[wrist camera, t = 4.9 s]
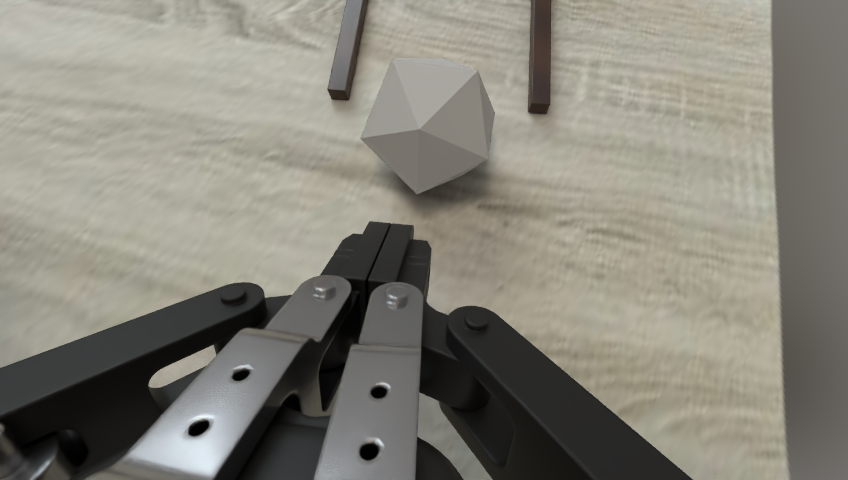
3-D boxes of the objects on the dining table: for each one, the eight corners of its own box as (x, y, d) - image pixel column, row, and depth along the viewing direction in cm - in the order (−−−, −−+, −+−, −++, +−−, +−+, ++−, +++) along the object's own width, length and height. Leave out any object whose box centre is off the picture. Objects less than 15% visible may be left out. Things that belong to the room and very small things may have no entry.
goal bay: (546, 113, 30) (550, 104, 29) (331, 99, 31) (327, 89, 30) (548, -36, 35) (551, -49, 34) (361, -44, 36) (358, -57, 35)
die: (498, 123, 31) (445, 1, 24) (528, 185, 24) (467, 42, 18) (410, 169, 33) (341, 69, 27) (416, 237, 27) (328, 126, 20)
